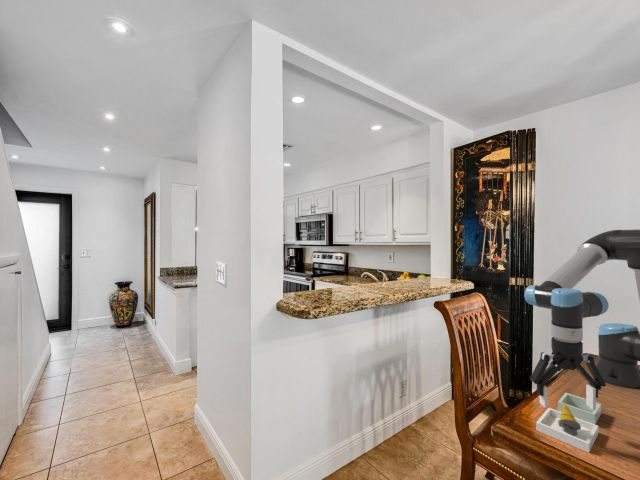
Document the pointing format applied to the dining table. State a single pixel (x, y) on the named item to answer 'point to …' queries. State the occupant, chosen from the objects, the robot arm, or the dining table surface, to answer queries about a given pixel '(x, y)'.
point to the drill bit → (568, 421)
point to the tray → (552, 428)
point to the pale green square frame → (577, 412)
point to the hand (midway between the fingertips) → (566, 406)
